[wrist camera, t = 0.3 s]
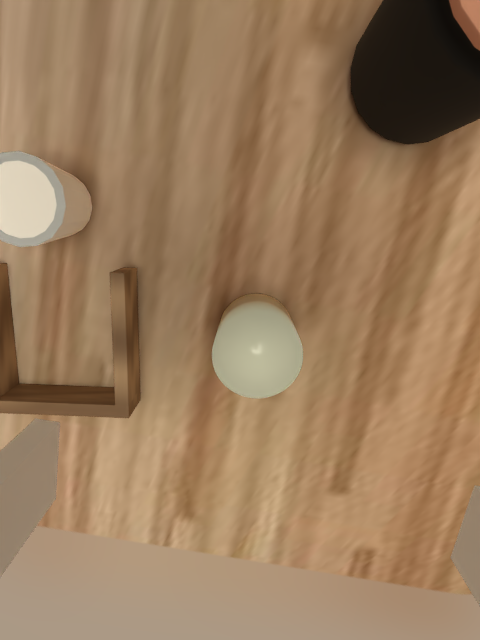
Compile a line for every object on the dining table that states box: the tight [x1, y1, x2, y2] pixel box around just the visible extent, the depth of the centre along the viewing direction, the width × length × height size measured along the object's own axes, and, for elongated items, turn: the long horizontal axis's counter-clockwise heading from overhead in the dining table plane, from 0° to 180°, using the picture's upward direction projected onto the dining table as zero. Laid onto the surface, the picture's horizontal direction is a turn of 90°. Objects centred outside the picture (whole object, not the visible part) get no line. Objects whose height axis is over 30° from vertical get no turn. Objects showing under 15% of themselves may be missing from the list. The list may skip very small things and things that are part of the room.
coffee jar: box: [351, 0, 480, 144], centre depth 25 cm, size 11×11×18 cm
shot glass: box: [0, 151, 92, 247], centre depth 33 cm, size 7×7×7 cm
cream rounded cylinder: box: [212, 294, 303, 398], centre depth 35 cm, size 7×7×8 cm
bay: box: [0, 263, 140, 418], centre depth 38 cm, size 13×13×4 cm
